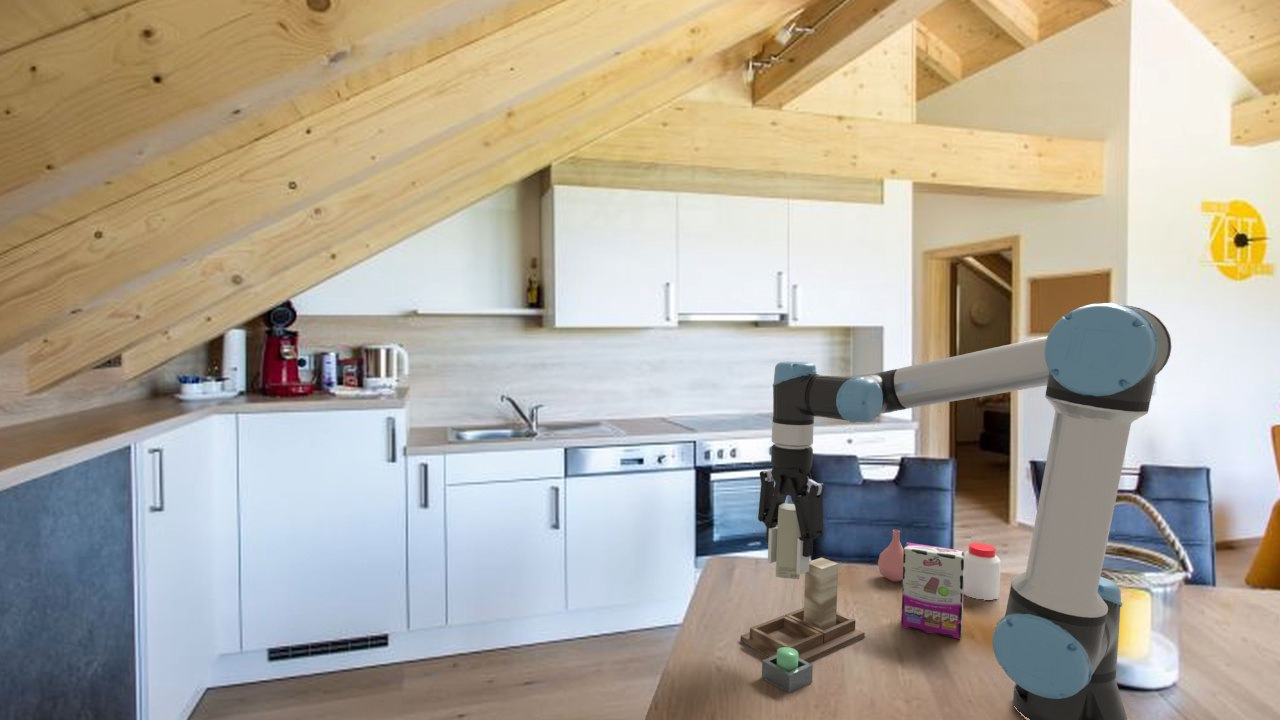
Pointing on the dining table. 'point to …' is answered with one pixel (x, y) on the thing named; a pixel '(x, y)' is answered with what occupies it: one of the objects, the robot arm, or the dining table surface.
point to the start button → (787, 658)
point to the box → (787, 542)
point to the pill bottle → (981, 572)
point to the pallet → (802, 636)
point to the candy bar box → (933, 589)
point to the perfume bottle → (892, 559)
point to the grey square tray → (787, 674)
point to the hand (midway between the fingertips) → (788, 566)
